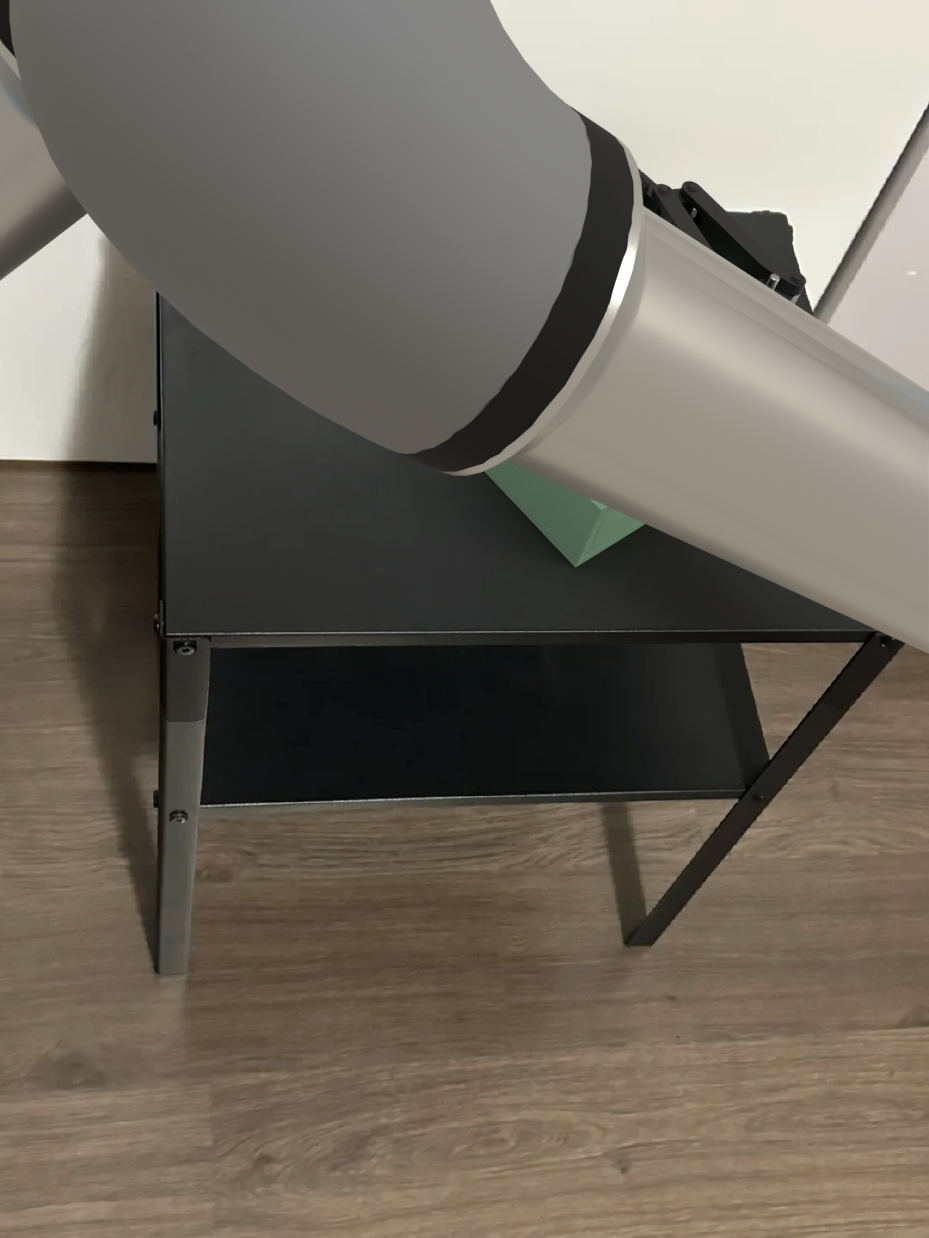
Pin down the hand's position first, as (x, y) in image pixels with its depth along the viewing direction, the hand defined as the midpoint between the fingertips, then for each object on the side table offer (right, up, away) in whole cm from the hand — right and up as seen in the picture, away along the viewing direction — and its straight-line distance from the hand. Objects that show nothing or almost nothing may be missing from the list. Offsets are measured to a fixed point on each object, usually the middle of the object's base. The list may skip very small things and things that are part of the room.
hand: (526, 157), depth 74 cm
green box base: (+3, -17, +12) cm, 21 cm away
